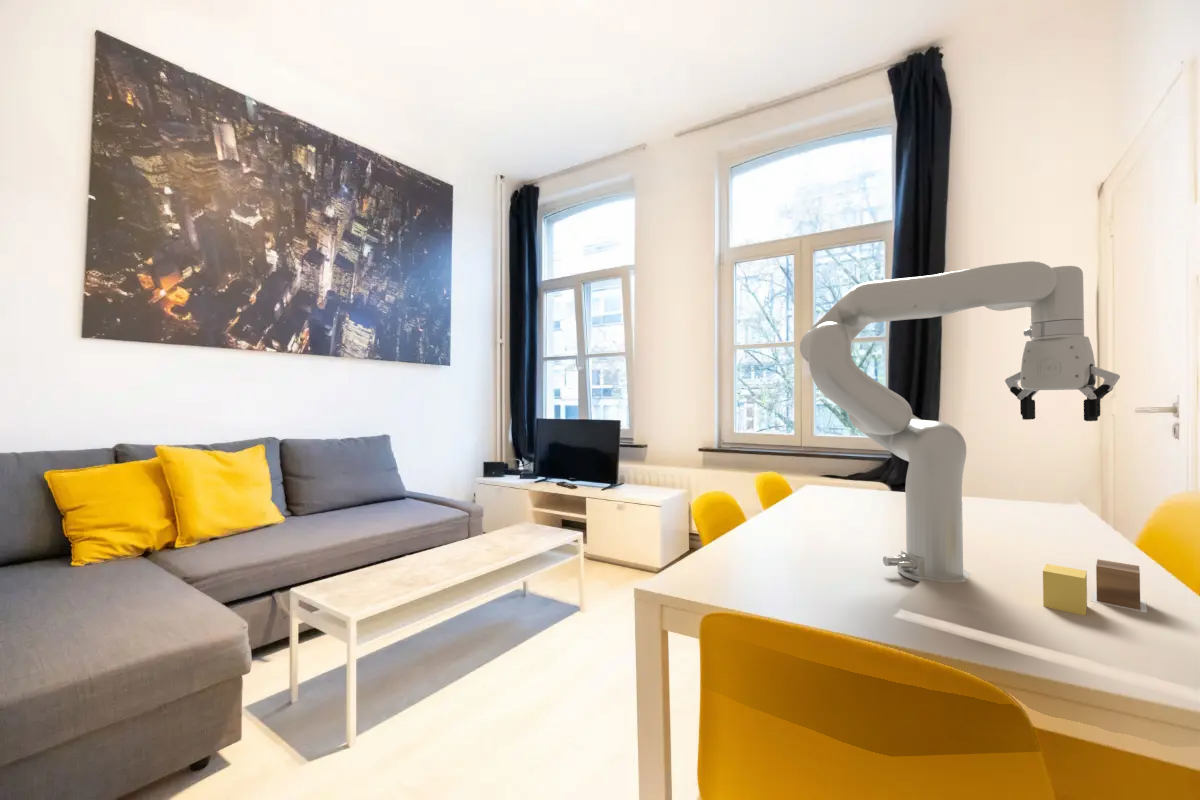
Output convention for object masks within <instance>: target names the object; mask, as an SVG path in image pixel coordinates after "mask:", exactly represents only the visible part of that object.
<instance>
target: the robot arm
mask: <svg viewBox="0 0 1200 800" xmlns="http://www.w3.org/2000/svg"><path fill="white" fill-rule="evenodd" d="M1084 294H1085V293H1084V272H1083V270H1082V268H1080V267H1078V266H1076V265H1061V266H1053V267H1051V266H1049V265H1048V264H1045V263H1043V262H1041V261H1035V260H1034V261H1032V260H1031V261H1029V260H1028V261H1019V262H1009V263H1007V262H1006V263H997V264H991V265H986V266H985V265H984V266H979V267H972V268H967V269H961V270H955V271H948V272H943V273H942V272H941V273H937V274H930V275H923V276H921V275H920V276H912V277H902V278H893V279H883V280H873V281H872V280H871V281H866V282H862V283H859V284H857V285H855V286H854V287H852V288H851V289H849V291H847V292H846V293H844V294H843V295H842V296H841V298H839V300H838V301H837V302H836V303H835V304H834V305H833V306H832V307H831V308H830V309H829V310H828V311H827V312H826V313H825V314H824V315H823V316H822V317H821V318H820V319H819V320H818V321H817V322H816V323H815V324H814V325H813V326H812V327H811V328H810V329H808V331H807V332H805V334H804V335H803V336H802V338H801V340H800V342H799V352H800V354H801V355H800V356H801V357H802V358H803V360H805V361H806V362H807V363H808V365H809V372H810V375H811V376H812V380H813V382H814V384H815V386H816V387H817V389H818V390H819V391H820V392H821V393H822V394H823V395H824V397H826V398H827V399H828V400H830V401H831V402H832V403H834V404H835V405H837V406H838V407H840V408H841V410H843V411H845V412H846V413H847V414H848V418H849V420H850V422H851V424H852V425H853V426H854V427H855V428H856V429H857V430H858V431H860V432H861V433H862V434H864V435H865V436H867V437H868V438H870V439H871V440H872V441H874V442H875V443H876V444H878V445H879V446H881V447H883V448H884V449H886V450H887V451H889V452H890V453H892V454H893V455H895V456H896V457H898V458H900V459H902V460H904V461H906V462H908V465H907V471H906V477H905V487H904V489H905V492H904V493H905V495H904V496H905V538H906V539H905V541H906V545H905V546H906V549H902V550H901V551H900V552H901V553H900V554H898V555H897V556H893V555H888V556H887V555H884V556H883V558H882V562H883V565H884V566H886V567H896V566H897V571H898V573H899V574H900V575H902V576H903V577H905V578H907V579H910V580H912V581H915V582H919V583H920V582H921V581H922V580H923V579H925V580H930V581H936V582H942V583H964V582H966V581H967V579H969V578H970V576H971V575H972V574H971V573H970V572H969V571H967V570H965V569H964V542H963V541H964V540H963V539H964V537H963V533H964V532H963V476H964V475H963V474H964V469H965V463H966V460H967V445H966V441H965V438H964V436H963V435H962V433H961V432H960V431H959V430H958V429H957V428H956V427H954V426H953V425H951V424H949V423H946V422H943V421H939V420H929V419H927V420H926V419H921V418H920V417H918V416H916V415H914V414H913V409H912V407H911V405H910V403H909V402H908V401H907V400H906V399H905V397H903V396H901V395H900V394H898V393H897V392H895V391H893V390H892V389H890V388H889V387H887V386H885V385H884V384H882V383H880V382H879V381H877V380H875V378H873V377H871V376H870V375H868V373H866V372H865V371H863V370H862V369H860V367H858V366H857V364H856V363H855V360H854V359H853V356H852V341H853V340H854V339H856V337H857V336H858V335H859V334H860V333H861V332H862V331H863V330H864V329H865V328H866V327H867V326H868V325H871V324H872V323H883V322H893V321H904V320H905V321H907V320H917V319H919V320H920V319H931V318H932V319H933V318H937V317H942V316H947V315H951V314H955V313H957V312H961V311H964V310H969V309H975V308H981V307H985V308H986V309H989V310H992V311H997V312H999V311H1000V312H1002V311H1003V312H1004V311H1011V310H1017V309H1024V308H1030V324H1031V325H1029V328H1028V329H1024V331H1023V336H1024V337H1029V338H1030V339H1031V340H1026V342H1025V343H1024V344H1025V345H1024V347H1023V348H1024V349H1023V353H1022V359H1021V366H1020V371H1019V372H1017V373H1015V374H1013V375H1011V376H1008V377H1007V378H1005V380H1004V382H1005V384H1006V386H1007V388H1009V391H1010V393H1012V394H1013V395H1014V396H1016V399H1017V400H1019V401H1020V403H1019V404H1020V408H1019V409H1020V415H1021V416H1022V420H1026V421H1027V420H1029V421H1030V420H1035V419H1036V401H1035V399H1033V397H1035V395H1036V394H1037V393H1038V392H1039V391H1064V390H1067V391H1068V390H1069V391H1070V390H1078V391H1080V392H1081V393H1082V394H1083V395H1084V396H1085V397H1086V399H1084V400H1083V421H1085V422H1097V421H1098V418H1099V417H1100V416H1101V400H1102V399H1104V397H1105V396H1106V395H1107V394H1109V393H1110V392H1112V390H1113V389H1114V386H1116V384H1117V383H1118V382H1119V379H1120V378H1121V375H1120V374H1118V373H1115V372H1112V371H1109V370H1106V369H1103V368H1101V367H1097V366H1096V364H1095V363H1096V362H1095V356H1094V352H1093V351H1094V350H1093V347H1092V344H1091V340H1090V338H1089V336H1085V315H1084V314H1085V311H1084V310H1085V307H1084V300H1085V299H1084ZM1096 376H1097V377H1099V378H1102V379H1103V380H1104V381H1103V382H1102V384H1101V385H1100V386H1098V387H1096V386H1095V385H1096V382H1097V377H1096ZM1018 382H1020V386H1021V387H1020V386H1019V384H1018Z"/></svg>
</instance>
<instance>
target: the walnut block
mask: <svg viewBox="0 0 1200 800" xmlns="http://www.w3.org/2000/svg"><path fill="white" fill-rule="evenodd" d="M1095 565H1096V566H1095V569H1096V572H1095V575H1096V592H1097V601H1099V602H1104V603H1109V604H1114V605H1118V606H1123V607H1128V608H1133V609H1138V610H1140V600H1141V571H1140V570H1141V569H1140V566H1139V565H1135V564H1130V563H1124V562H1116V561H1110V560H1104V559H1098V558H1097V559H1096V564H1095Z"/></svg>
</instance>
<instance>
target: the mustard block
mask: <svg viewBox="0 0 1200 800" xmlns="http://www.w3.org/2000/svg"><path fill="white" fill-rule="evenodd" d="M1087 576H1088V575H1087V570H1084V569H1078V568H1072V567H1067V566H1061V565H1056V564H1049V563H1045V565H1044V567H1043V570H1042V592H1043V593H1042V597H1043V598H1042V601H1043V603H1042V604H1043V605H1042V606H1043V607H1045V608H1049V609H1053V610H1058V611H1063V612H1067V613H1072V614H1077V615H1081V616H1086V614H1087V609H1088V585H1087V582H1088V581H1087V579H1088V578H1087Z"/></svg>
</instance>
